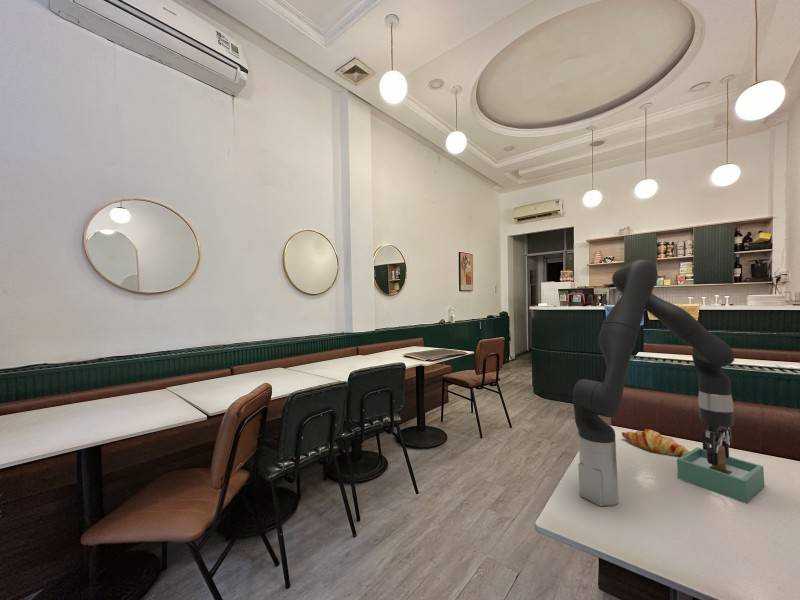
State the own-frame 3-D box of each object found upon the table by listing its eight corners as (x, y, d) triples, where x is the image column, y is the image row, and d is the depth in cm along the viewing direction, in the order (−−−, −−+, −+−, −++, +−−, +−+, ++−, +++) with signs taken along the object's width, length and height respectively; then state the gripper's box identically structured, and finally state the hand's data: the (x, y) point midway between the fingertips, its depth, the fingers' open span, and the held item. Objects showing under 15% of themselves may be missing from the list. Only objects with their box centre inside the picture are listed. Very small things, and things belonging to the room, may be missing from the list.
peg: (724, 482, 95) (722, 448, 95) (711, 478, 97) (709, 445, 97) (728, 479, 96) (726, 446, 96) (715, 475, 99) (713, 442, 99)
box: (746, 503, 86) (745, 481, 86) (678, 478, 99) (676, 459, 100) (764, 486, 93) (763, 466, 94) (698, 465, 107) (697, 447, 107)
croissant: (694, 466, 113) (696, 443, 115) (686, 461, 107) (689, 437, 110) (624, 445, 130) (627, 425, 132) (615, 439, 125) (619, 419, 127)
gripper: (723, 415, 90) (726, 472, 90) (741, 406, 97) (744, 459, 97) (689, 408, 97) (692, 461, 96) (708, 400, 104) (711, 450, 103)
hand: (718, 460), depth 97 cm, fingers open, 8 cm apart
